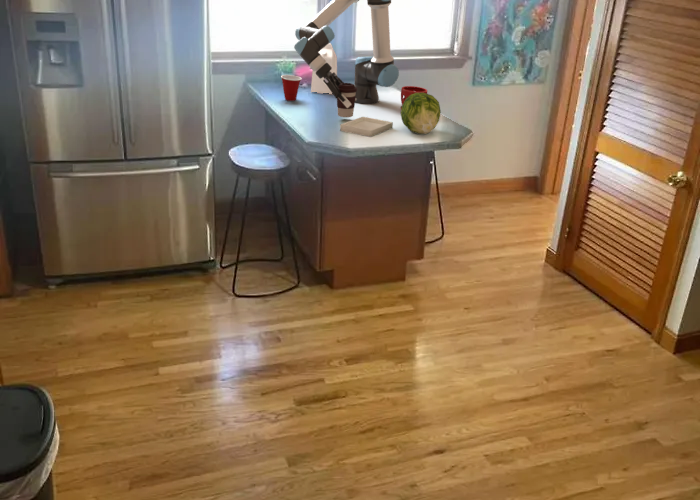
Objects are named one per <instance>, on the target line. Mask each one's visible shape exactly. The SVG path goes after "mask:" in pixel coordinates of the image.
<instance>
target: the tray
mask: <svg viewBox="0 0 700 500" xmlns="http://www.w3.org/2000/svg"><path fill="white" fill-rule="evenodd" d="M393 126H394V122H393V121H389V120H384V119H383V120H381V119H378V118H372V117H368V116H367V117H366V116H361V117H358V118H355V119H352V120H349V121H346V122H344V123H341V124H340V130H339V131H341V132H346V133H349V134H355V135H361V136H365V137H370V138H371V137H375V136H377V135H379V134H382V133H384V132H387V131H389V130H391V129H393V128H394V127H393Z"/></svg>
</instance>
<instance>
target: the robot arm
mask: <svg viewBox="0 0 700 500" xmlns="http://www.w3.org/2000/svg"><path fill="white" fill-rule="evenodd" d="M359 1H360V0H331V1H330V2H329V3H328V4H327V5H326V6H325V7H324V8H322V10H320V11H319V12H318V13H317V14H316V15H315V16H314V17H312V19H310V20H309V21H308V22H307V23H306V24H305V25H304V24H303V25H298V26H297V28H296V29H295V30H294V31H295V33H294V34H295V35H294V36H295V37H296V39H297V40H298V41H297V42H296V43H295V44H294V45H293V46H294V47H293V48H294V50H295V51H296V53H297V55H298V56H299V57H301V59H302V60H304V62H305V63H306V64H307V66H308V67H309V69H310V70H311V71H314V72H315V71H316V75H317V76H318V77H319V78H320V79H321V78H322V77H324V80H323V81H324V83H325V84H326V85H327V86H328V88H329V89H330V90H331V92H332V93H333V94H332V95H333V96H334V98H335V99H336V100H337V98H339V99H340V100H341V102H342V103H343V104H344V105H345V106H346V107H347V108H348V107H349V106H351V105H352V104H351V103H350V102H349V100H348V99H347V98H346V97H345V96H344V95H343V94H342V95H341V92H340V90H339V89H338V87H337V86H339V84H340V83H345V82H344V81H343V80H342V79H341V78H340V77H339V76H338V74H337V75H336V74H335V73H334V72H333V73H331V72H330V70H331V69H332V67H331V66H330V65H329V64H328V63H326V60H325V59H324V58H323V57H322V56H321V54H320V53H319V51H320V50H321V49H323V48H324V47H325V46H326V45H327V44H329V43H331V42H332V41H333V40H334V39H335V36H336V35H335V32H334V30H333V29H332V28H331V27H330V26H329V25H331V24H332V23H333V22H334V21H335V20H336V19H337V18H338V17H340V15H342V14H343V13H344V12H345V11H346V10H347V9H348V8H349V7H351V6H352V5H353V4H354V3H359ZM391 4H392V0H367V6H368V7H370V13H371V14H370V16H371V17H370V18H371V31H372V32H371V34H372V35H371V36H372V51H373V53H372V54H373V56H367V55H366V56H358V57H356V58H355V64H354V83H353V84H354V87H356V88H357V92H356V93H355V95H356V97H355V104H356V103H357V104H365V105H366V104H367V105H369V104H371V105H372V104H377V103H379V102H380V101H379V100H380V96H379V92H378V88H377V86H379V87H384V88H390V87H392V86H394V84H395V83H396V82H397V81H398V78H399V76H400V70H399V67H398V66H397V65H396V64H395V59H394V57H393V56H392V55H391V54H392V53H391V39H390V38H391V37H390V34H391V33H390V13H389V12H390V11H389V7H390V6H391Z"/></svg>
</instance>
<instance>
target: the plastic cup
mask: <svg viewBox="0 0 700 500" xmlns="http://www.w3.org/2000/svg"><path fill="white" fill-rule="evenodd" d="M280 78H281V82H282V88H283V89H282V90H283V95H284V100H285V101H289V102H293V101H297V96H298V92H299V87H300V83H301V81H302V79H303V78H302V77H301V76H297V75H293V74H292V75H291V74H283V75H281V76H280Z"/></svg>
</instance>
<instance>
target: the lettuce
mask: <svg viewBox="0 0 700 500" xmlns="http://www.w3.org/2000/svg"><path fill="white" fill-rule="evenodd" d="M401 106H402V109H401V108H400V116H401V121H402V123H403V125H404V127H405V128H407V129H408V130H409V131H410V132H412V133H415V134H419V135H426V134H429V133H431V132H432V131H433V130H434V129H435V128H436V126H437V125H438V124H439V121H440V117H441V112H442V111H441V105H440V102H439V100H438V99H437V98H436V97H435V96H434V95H432V94H429V93H427V94H426V93H414V94H412V95H410V96H409V97H408V98H407V99H406V100H405V101H404V103H403V105H402V104H401Z"/></svg>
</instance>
